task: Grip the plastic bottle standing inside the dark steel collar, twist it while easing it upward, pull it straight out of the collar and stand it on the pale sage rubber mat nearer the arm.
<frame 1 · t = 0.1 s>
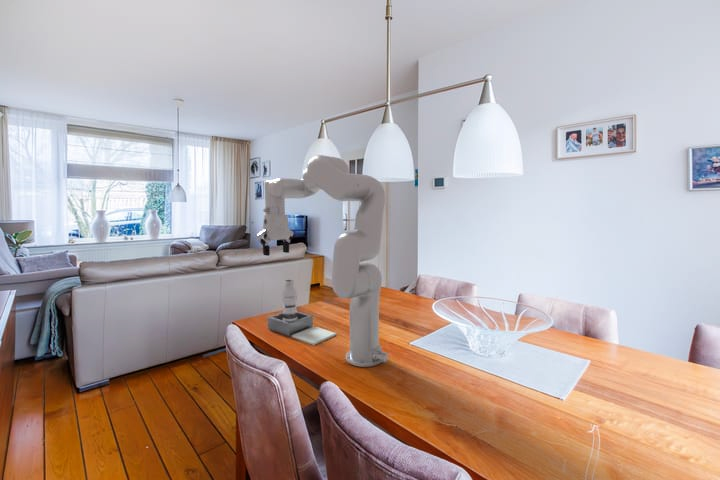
hand: (276, 253, 135), 31 cm above the table, fingers open, 9 cm apart
mat: (314, 336, 129), on the table
plastic bottle: (290, 328, 138), resting in steel collar
steel collar: (290, 328, 137), on the table
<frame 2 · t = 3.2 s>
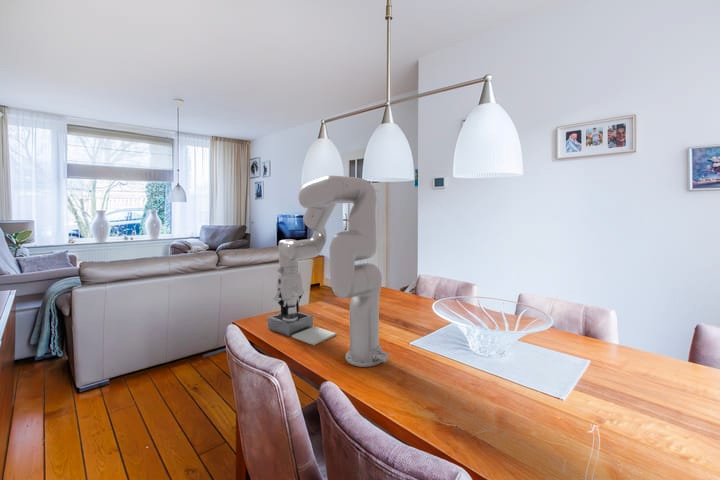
hand: (290, 312, 137), 6 cm above the table, fingers closed on plastic bottle, 5 cm apart
plastic bottle: (290, 328, 138), resting in steel collar, touching gripper
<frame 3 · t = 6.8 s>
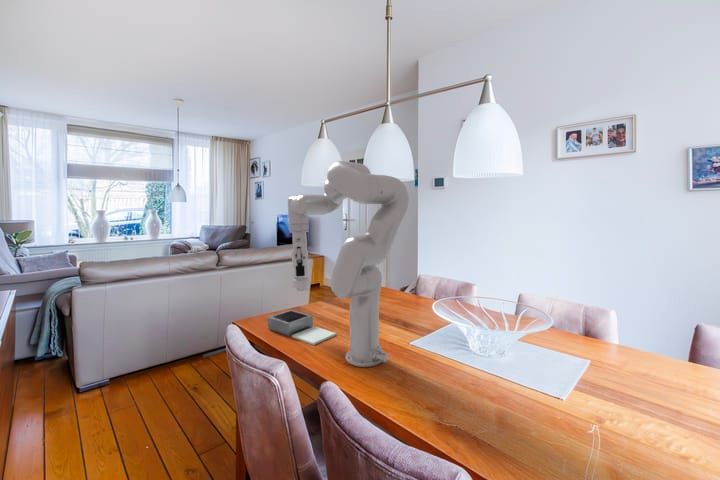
hand: (300, 274, 131), 24 cm above the table, fingers closed on plastic bottle, 5 cm apart
plastic bottle: (301, 290, 131), point 17 cm above the table, touching gripper
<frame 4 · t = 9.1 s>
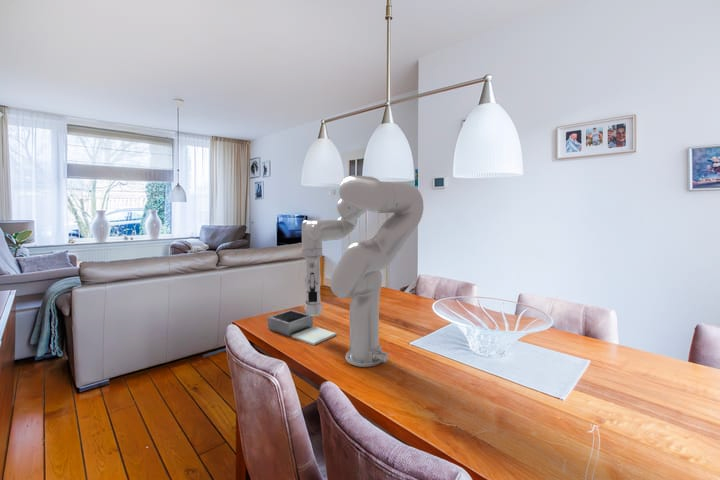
hand: (313, 299, 127), 15 cm above the table, fingers closed on plastic bottle, 5 cm apart
plastic bottle: (313, 315, 128), point 8 cm above the table, touching gripper
when the fingers open (9 cm above the table, at t = 10.7 s): plastic bottle drops 1 cm, resting on mat.
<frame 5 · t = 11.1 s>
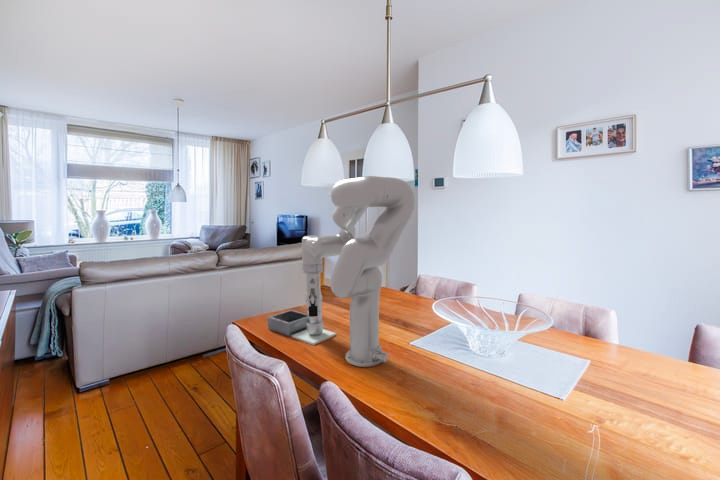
hand: (313, 312, 128), 10 cm above the table, fingers open, 9 cm apart
plastic bottle: (315, 334, 129), point 1 cm above the table, touching mat
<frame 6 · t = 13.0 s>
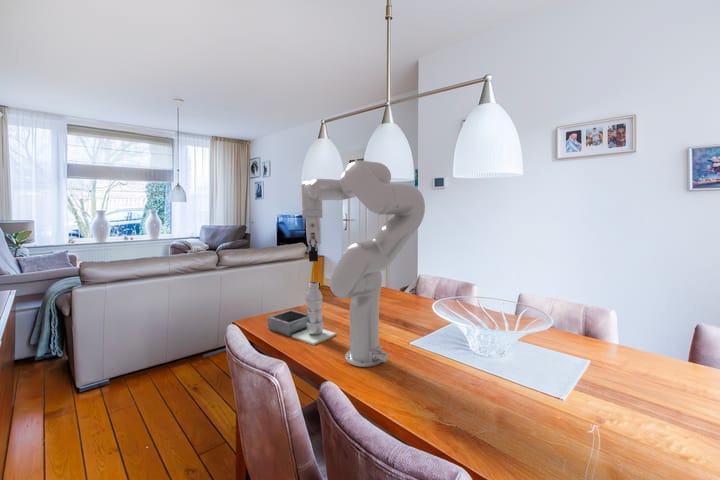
hand: (313, 259, 127), 30 cm above the table, fingers open, 9 cm apart
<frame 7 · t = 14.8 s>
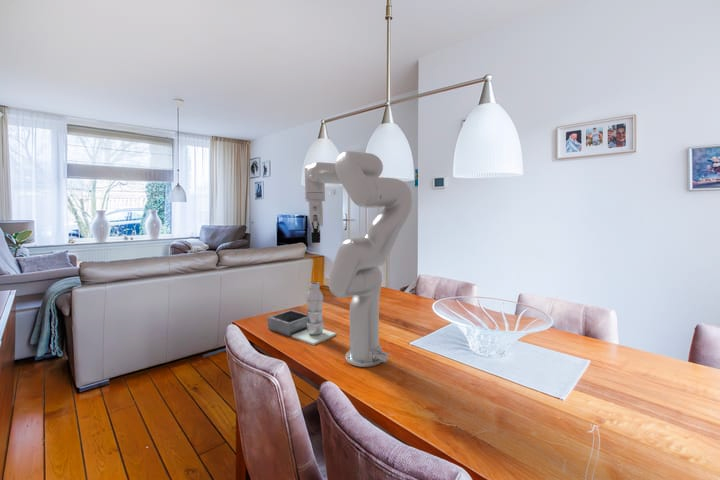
hand: (316, 241, 131), 36 cm above the table, fingers open, 9 cm apart
nothing on the table moved.
at the end: plastic bottle inside the target area on the mat (0.5 cm from its centre), point 0.6 cm above the mat's base; plastic bottle tilted 1°; the gripper is holding nothing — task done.
